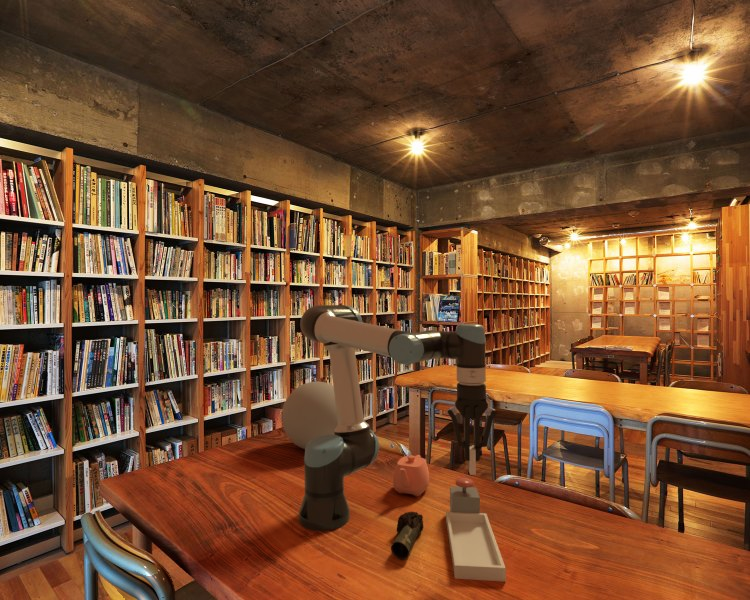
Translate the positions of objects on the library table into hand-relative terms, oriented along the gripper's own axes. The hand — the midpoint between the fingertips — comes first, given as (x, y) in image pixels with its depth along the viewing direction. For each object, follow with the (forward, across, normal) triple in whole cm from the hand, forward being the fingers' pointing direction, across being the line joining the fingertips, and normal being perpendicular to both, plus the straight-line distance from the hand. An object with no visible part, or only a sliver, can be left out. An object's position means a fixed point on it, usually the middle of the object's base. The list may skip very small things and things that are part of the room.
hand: (472, 472), depth 110 cm
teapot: (+20, -16, +33) cm, 42 cm away
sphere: (+20, -59, +74) cm, 97 cm away
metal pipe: (+23, -18, -4) cm, 30 cm away
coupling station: (+20, 0, 0) cm, 20 cm away
